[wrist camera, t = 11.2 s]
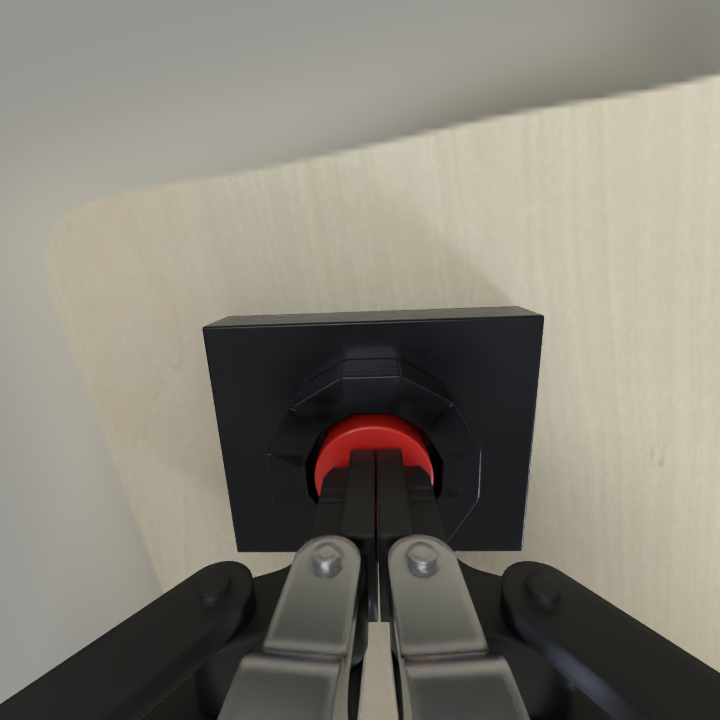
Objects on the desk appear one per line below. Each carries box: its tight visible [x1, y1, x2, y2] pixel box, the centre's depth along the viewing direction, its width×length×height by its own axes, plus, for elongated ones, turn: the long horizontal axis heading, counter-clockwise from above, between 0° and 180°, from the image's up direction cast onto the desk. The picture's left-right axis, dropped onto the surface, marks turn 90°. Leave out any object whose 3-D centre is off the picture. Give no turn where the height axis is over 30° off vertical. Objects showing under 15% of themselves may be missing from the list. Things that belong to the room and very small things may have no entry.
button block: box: [203, 306, 544, 562], centre depth 13 cm, size 11×9×4 cm
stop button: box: [315, 414, 434, 530], centre depth 12 cm, size 4×4×2 cm
